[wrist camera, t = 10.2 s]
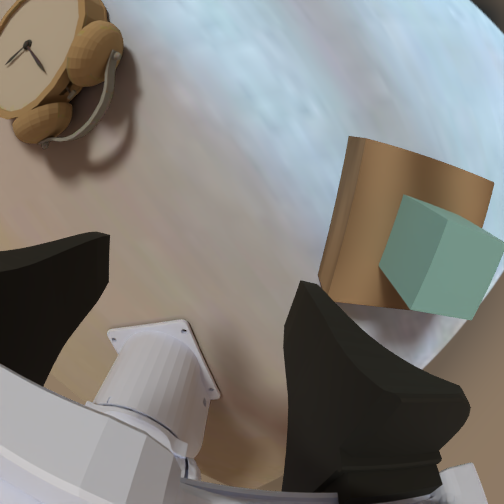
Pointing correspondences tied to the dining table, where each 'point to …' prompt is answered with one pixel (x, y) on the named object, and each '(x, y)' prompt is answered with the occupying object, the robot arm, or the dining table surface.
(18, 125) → the alarm clock
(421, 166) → the walnut box
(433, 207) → the teal block
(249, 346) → the dining table surface
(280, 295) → the dining table surface
